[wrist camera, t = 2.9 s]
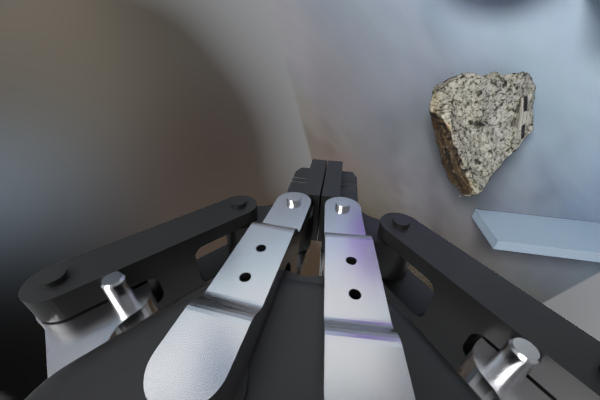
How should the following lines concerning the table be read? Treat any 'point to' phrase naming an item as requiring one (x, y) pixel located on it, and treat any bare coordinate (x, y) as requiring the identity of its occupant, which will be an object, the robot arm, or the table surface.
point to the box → (540, 235)
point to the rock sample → (480, 124)
